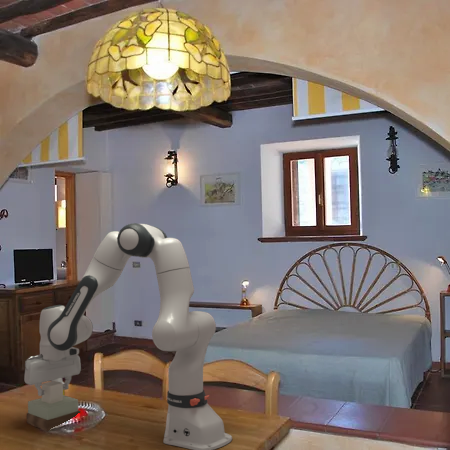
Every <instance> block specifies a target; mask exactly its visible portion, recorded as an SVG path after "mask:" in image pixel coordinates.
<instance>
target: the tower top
mask: <svg viewBox="0 0 450 450" xmlns="http://www.w3.org/2000/svg"><path fill="white" fill-rule="evenodd" d="M77 411H79V399H77V398H74V397H71V396H68V395H63V400H62V401H59V402H55V403H52V404H49V403H46V402H43V401H42V397H40V398H36V399H31V400H30V401H29V400H28V401H27V413H29V414H32V415H35V416H37V417H40V418H43V419H46V420H50V419H53V418H57V417H60V416H63V415H67V414H70V413H73V412H77Z"/></svg>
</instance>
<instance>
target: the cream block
mask: <svg viewBox="0 0 450 450" xmlns="http://www.w3.org/2000/svg"><path fill="white" fill-rule="evenodd" d="M41 389H43V390H44V395H42V396H41V398H42V401H43V402H46V403H49V404H52V403H55V402H59V401H62V400H63V383H61V382H57V381H52V380H51V381H47V382H42V386H41Z"/></svg>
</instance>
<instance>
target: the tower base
mask: <svg viewBox="0 0 450 450" xmlns="http://www.w3.org/2000/svg"><path fill="white" fill-rule="evenodd" d="M80 412H81V410H78V411H77V412H73V413H70V414H67V415H63V416H60V417H57V418H53V419H50V420H46V419H43V418H40V417H37V416H35V415H32V414H29V413H28V412H26V424H28V425H30V426H34V427H36V428H38V429H39V430H40V429H41V430H43V431H44V432H50V431H51V430H50V429H51V428H53V427H55V426H58V425H60V424H62V423H64V422H66V421H68V420H70V419H71V418H73V417H75V416H76V415H77V414H78V413H80ZM49 430H50V431H49Z"/></svg>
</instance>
